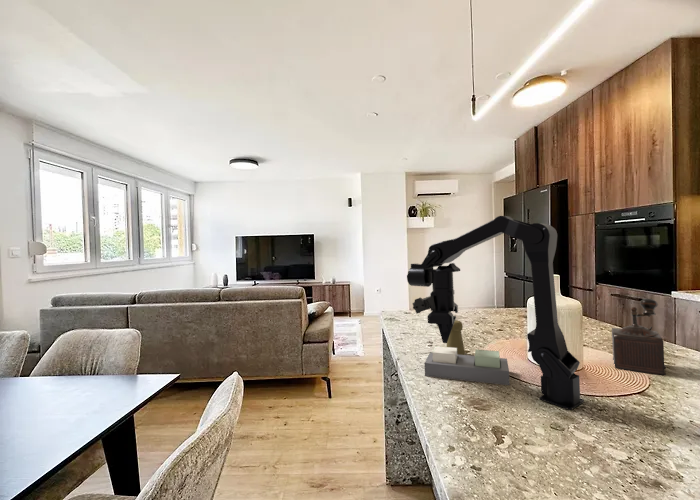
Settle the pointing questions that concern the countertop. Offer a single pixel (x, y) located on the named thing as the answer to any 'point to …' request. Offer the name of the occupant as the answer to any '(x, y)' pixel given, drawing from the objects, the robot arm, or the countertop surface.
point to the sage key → (487, 358)
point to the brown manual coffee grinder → (639, 344)
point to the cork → (456, 338)
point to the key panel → (468, 370)
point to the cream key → (445, 355)
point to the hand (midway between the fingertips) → (445, 342)
